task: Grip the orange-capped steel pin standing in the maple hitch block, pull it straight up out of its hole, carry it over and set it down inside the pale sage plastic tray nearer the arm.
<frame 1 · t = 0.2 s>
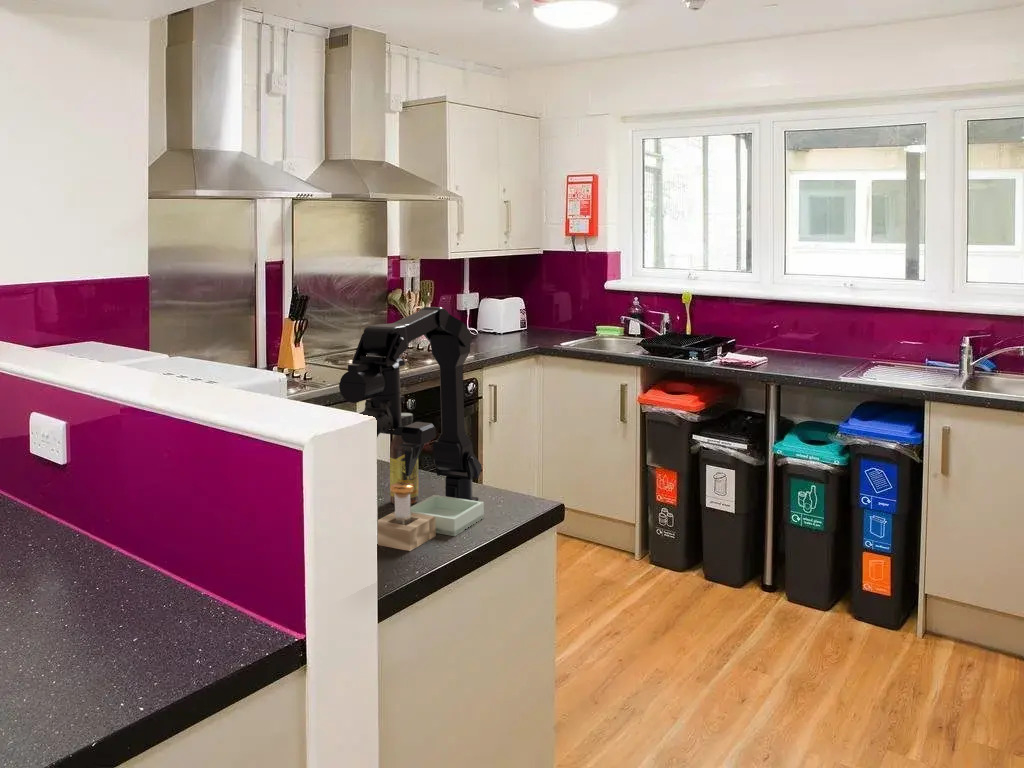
hand: (388, 472, 169), 14 cm above the counter, tool pointing down, fingers open, 9 cm apart
sage tray: (444, 522, 183), on the counter
steel pin: (402, 512, 172), in the hitch block
hitch block: (403, 539, 173), on the counter
sauce bottle: (405, 503, 196), on the counter
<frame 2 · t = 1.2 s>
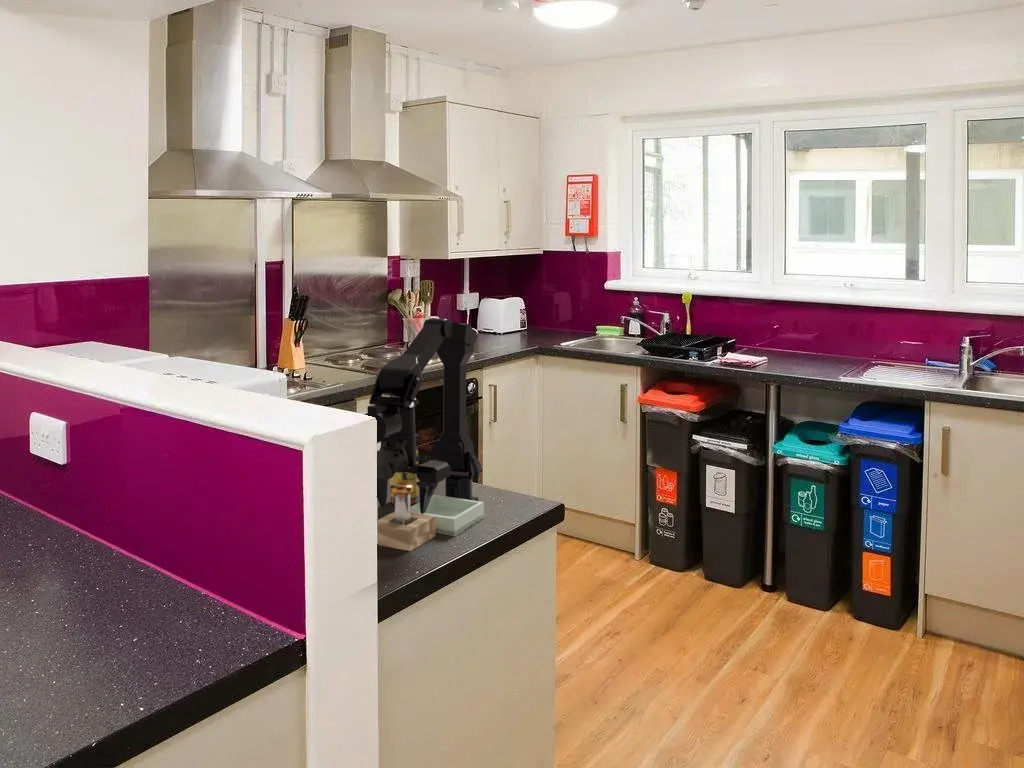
hand: (402, 510, 172), 6 cm above the counter, tool pointing down, fingers open, 9 cm apart
nothing on the counter moved.
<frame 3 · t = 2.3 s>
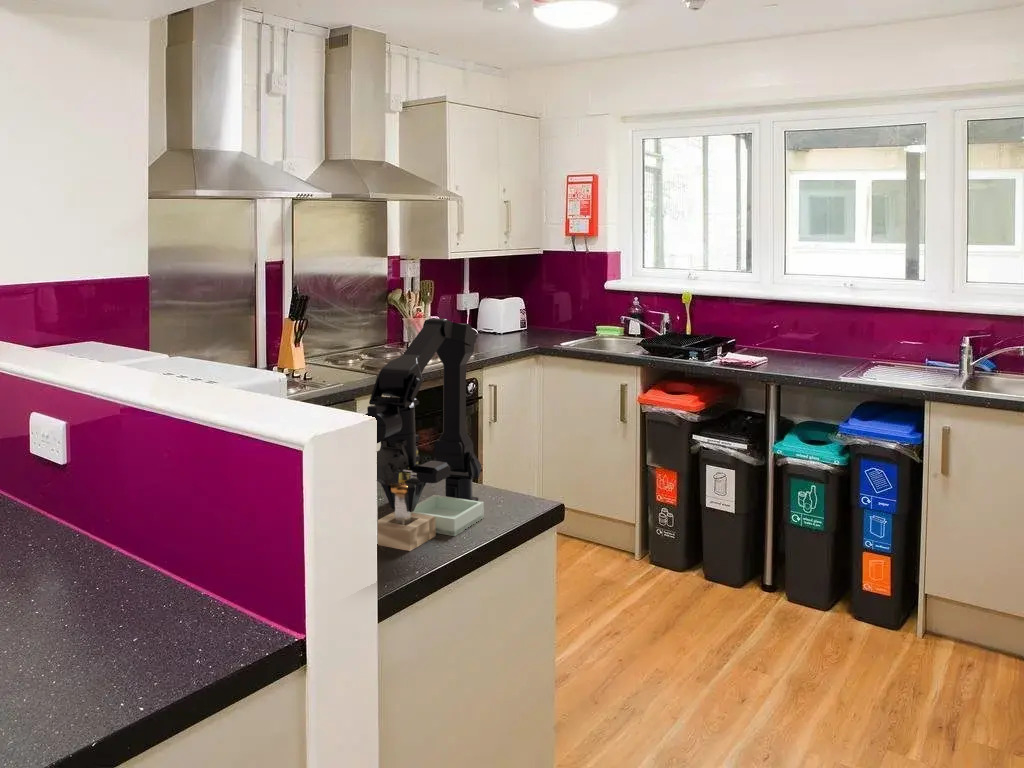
hand: (402, 510, 172), 6 cm above the counter, tool pointing down, fingers closed on steel pin, 4 cm apart
steel pin: (402, 512, 172), in the hitch block, touching gripper
everything else where it was.
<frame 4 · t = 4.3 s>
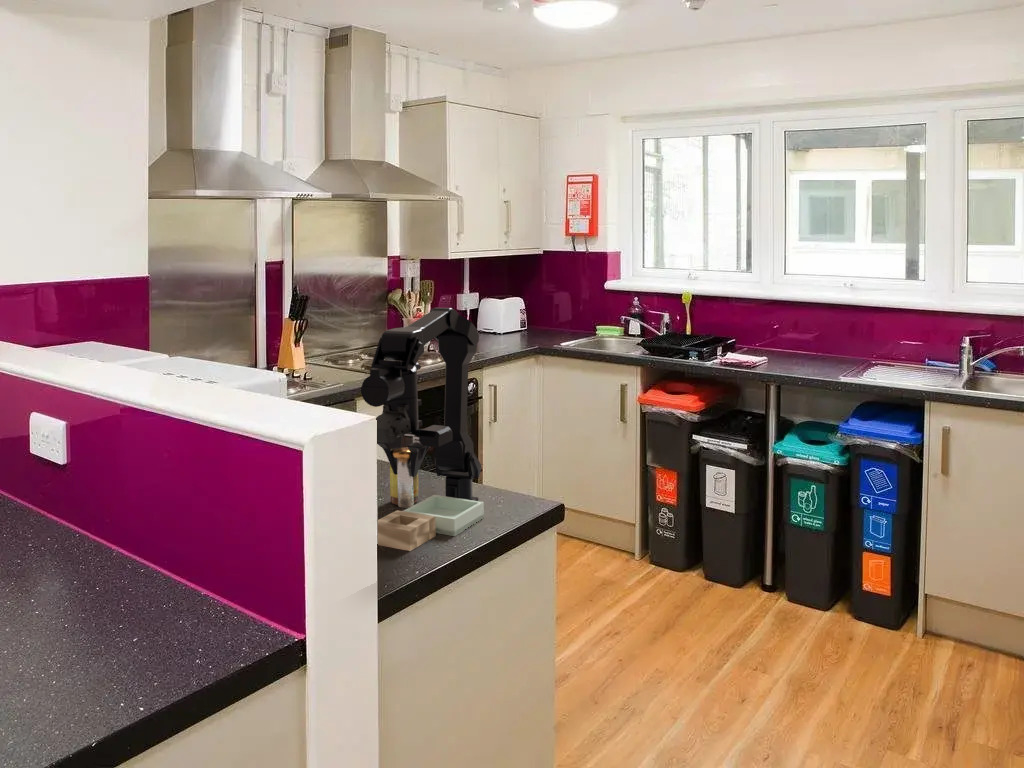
hand: (405, 475, 172), 13 cm above the counter, tool pointing down, fingers closed on steel pin, 4 cm apart
steel pin: (405, 477, 172), point 12 cm above the counter, touching gripper
everything else where it was.
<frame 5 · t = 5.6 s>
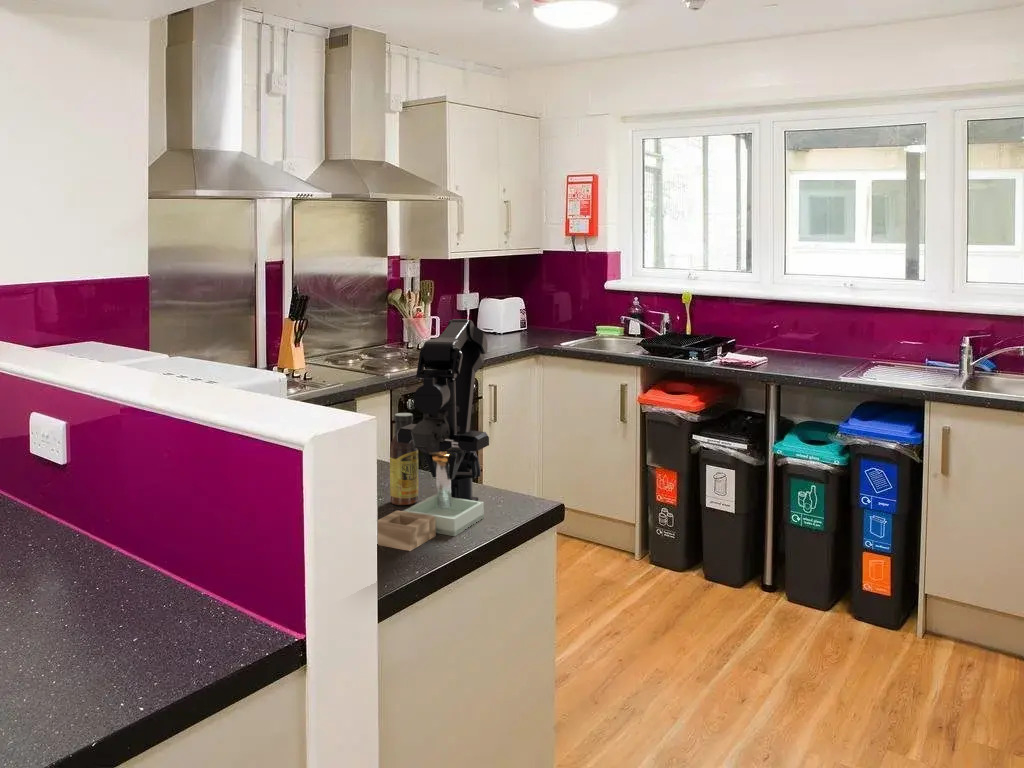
hand: (443, 478, 181), 9 cm above the counter, tool pointing down, fingers closed on steel pin, 4 cm apart
steel pin: (443, 480, 181), point 9 cm above the counter, touching gripper
everything else where it was.
when the fingers open (8 cm above the counter, at t = 6.5 s): steel pin drops 1 cm, resting on sage tray.
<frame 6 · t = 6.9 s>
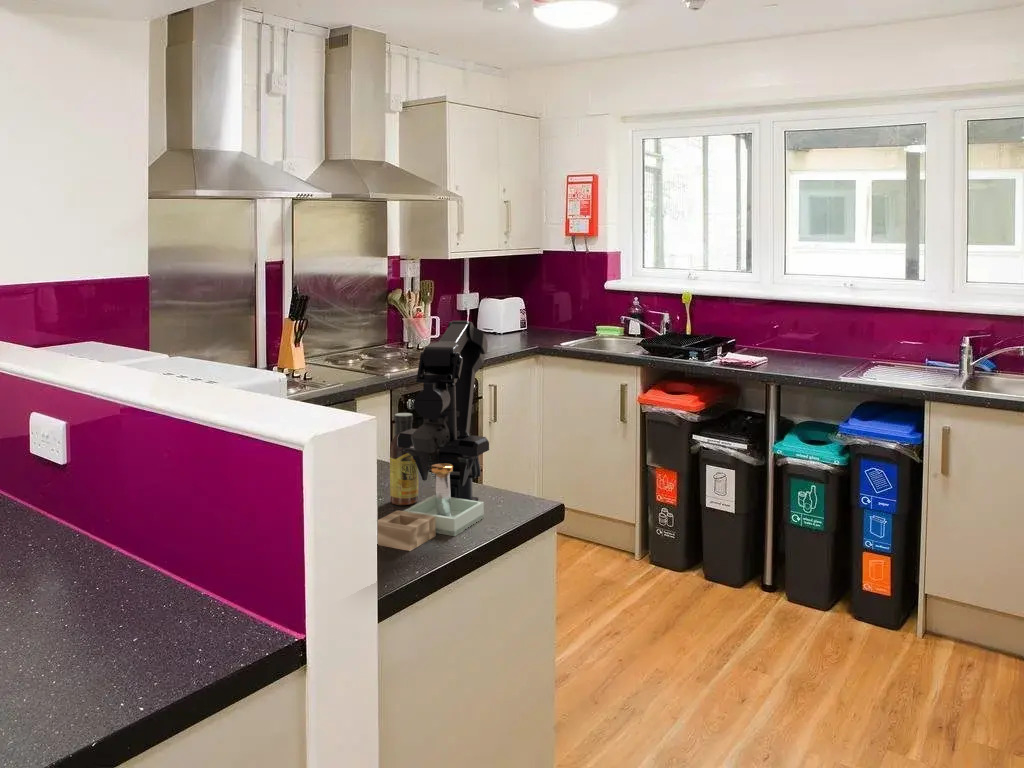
hand: (443, 482, 181), 8 cm above the counter, tool pointing down, fingers open, 9 cm apart
steel pin: (443, 492, 182), in the sage tray, point 6 cm above the counter
everything else where it was.
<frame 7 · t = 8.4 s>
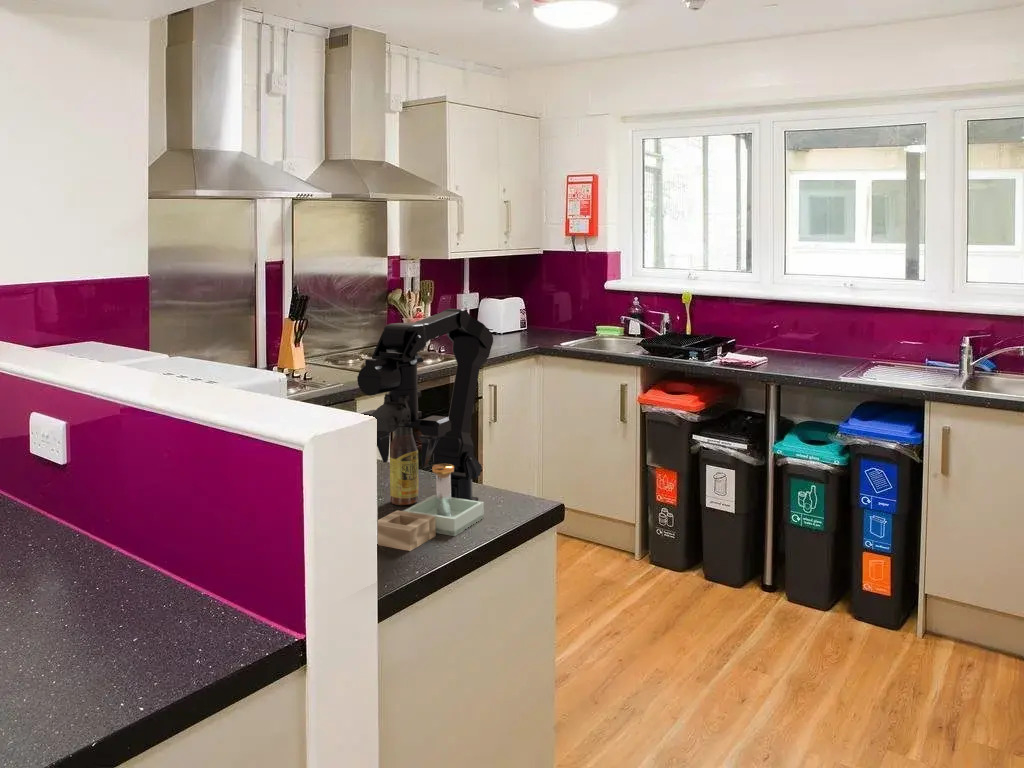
hand: (404, 464, 178), 13 cm above the counter, tool pointing down, fingers open, 9 cm apart
nothing on the counter moved.
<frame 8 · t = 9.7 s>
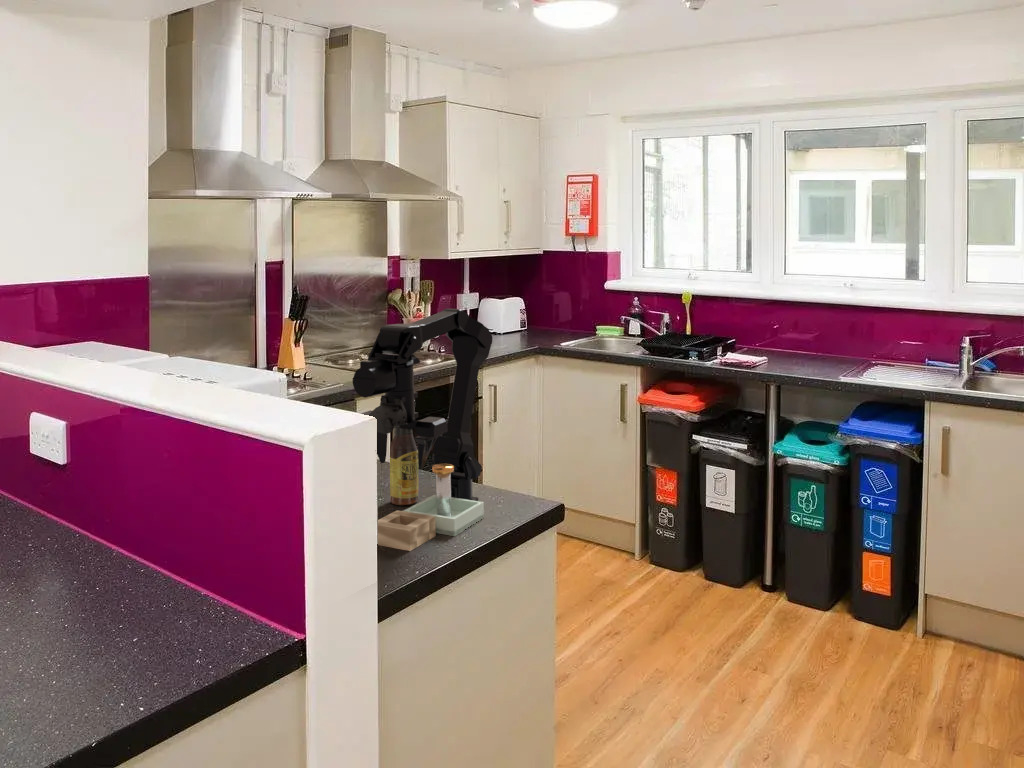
hand: (401, 465, 178), 13 cm above the counter, tool pointing down, fingers open, 9 cm apart
nothing on the counter moved.
at the end: steel pin inside the target area on the sage tray (0.0 cm from its centre), point 6.5 cm above the sage tray's base; the gripper is holding nothing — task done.
